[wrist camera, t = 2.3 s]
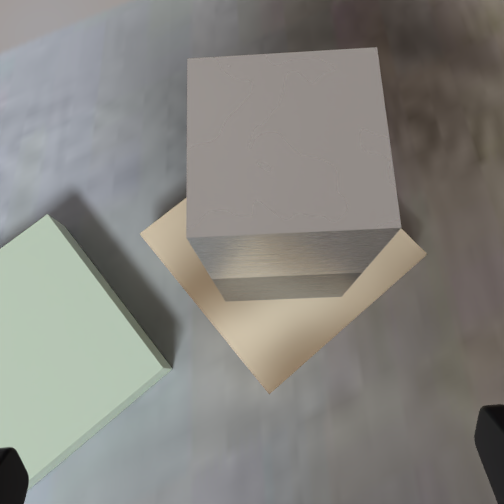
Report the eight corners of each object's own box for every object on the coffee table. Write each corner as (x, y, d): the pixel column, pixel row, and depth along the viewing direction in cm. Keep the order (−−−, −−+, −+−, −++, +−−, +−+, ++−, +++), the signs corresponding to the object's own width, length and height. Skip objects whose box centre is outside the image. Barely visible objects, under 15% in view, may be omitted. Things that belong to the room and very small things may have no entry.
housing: (341, 296, 21) (401, 227, 11) (225, 301, 21) (186, 237, 11) (331, 189, 22) (376, 47, 13) (223, 194, 22) (187, 58, 13)
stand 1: (172, 368, 22) (163, 368, 20) (4, 510, 21) (-23, 523, 19) (65, 226, 25) (47, 214, 23) (-93, 344, 23) (-126, 341, 21)
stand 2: (414, 264, 23) (427, 254, 21) (269, 392, 22) (269, 394, 20) (288, 137, 25) (289, 117, 24) (150, 245, 24) (139, 233, 22)
